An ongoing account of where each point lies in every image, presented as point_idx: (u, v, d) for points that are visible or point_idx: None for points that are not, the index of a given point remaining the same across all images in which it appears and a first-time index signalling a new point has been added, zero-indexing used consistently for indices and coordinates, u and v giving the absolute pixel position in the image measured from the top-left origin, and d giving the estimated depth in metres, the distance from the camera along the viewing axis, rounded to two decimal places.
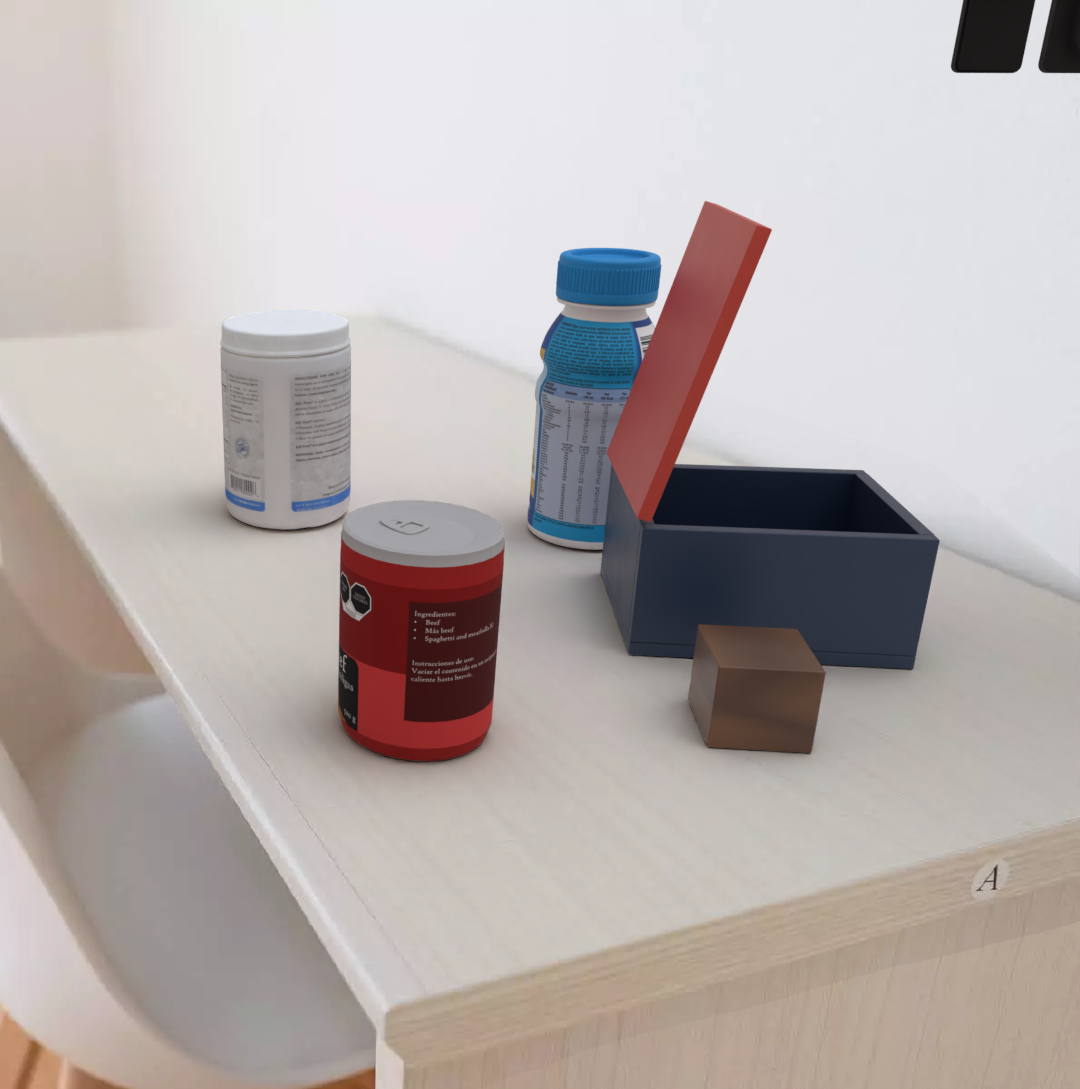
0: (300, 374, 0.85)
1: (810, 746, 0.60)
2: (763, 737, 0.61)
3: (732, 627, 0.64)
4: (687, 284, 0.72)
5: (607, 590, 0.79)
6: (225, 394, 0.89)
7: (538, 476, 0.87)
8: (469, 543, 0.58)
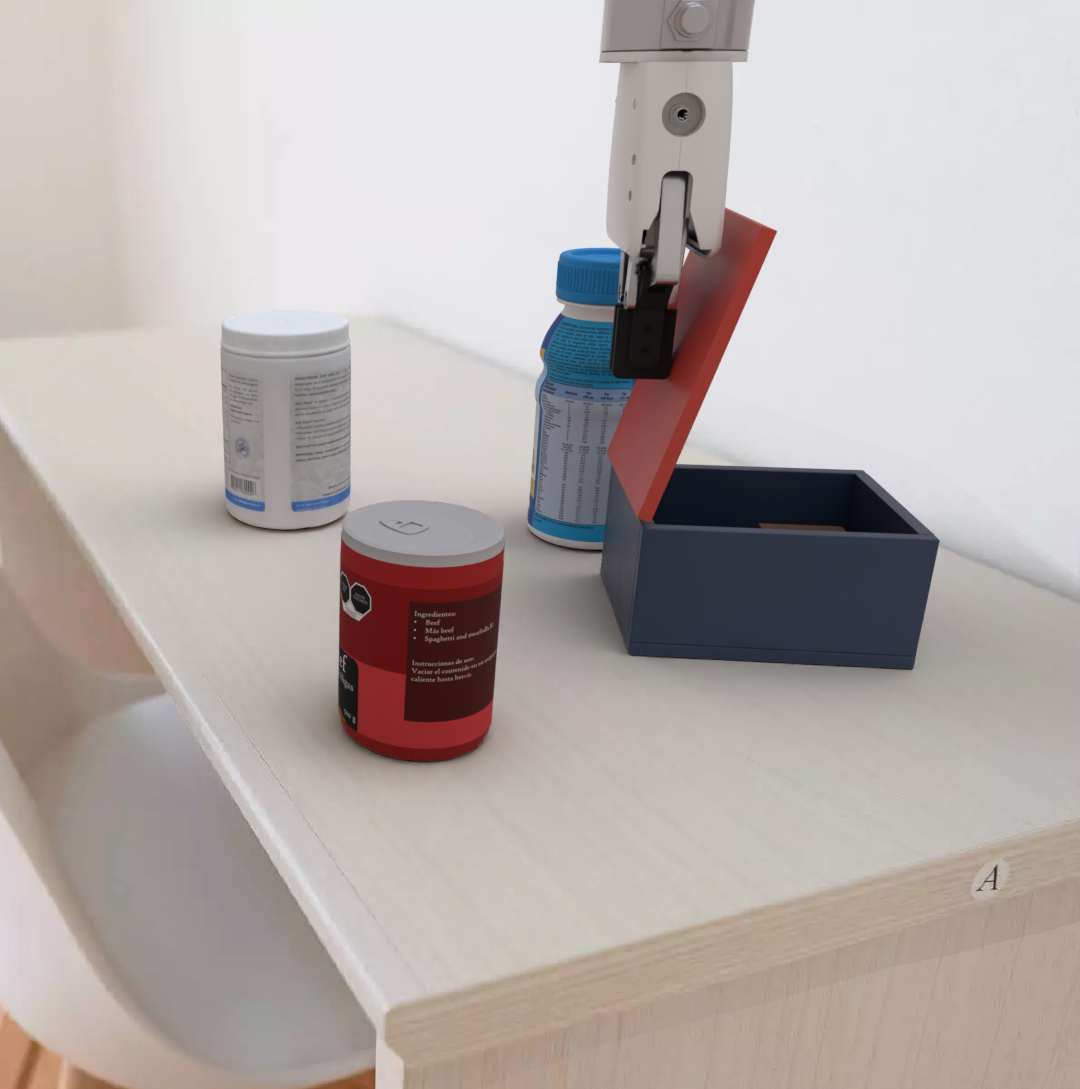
0: (300, 374, 0.85)
1: None
2: None
3: None
4: (690, 285, 0.72)
5: (607, 590, 0.79)
6: (225, 394, 0.89)
7: (538, 476, 0.87)
8: (469, 543, 0.58)
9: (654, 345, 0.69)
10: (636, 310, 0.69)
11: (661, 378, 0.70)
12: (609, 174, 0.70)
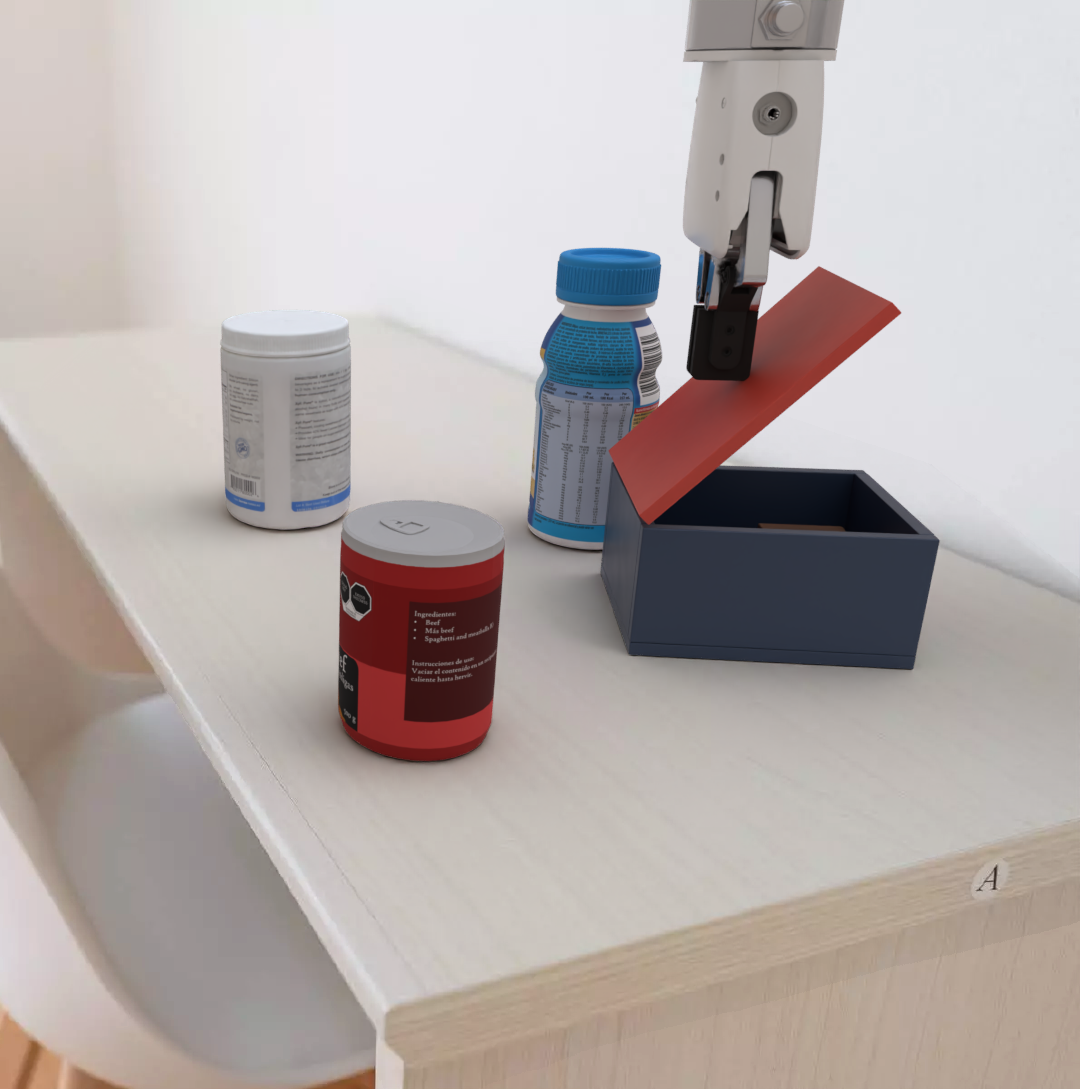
0: (300, 374, 0.85)
1: None
2: None
3: None
4: (772, 331, 0.72)
5: (607, 590, 0.79)
6: (225, 394, 0.89)
7: (538, 476, 0.87)
8: (469, 543, 0.58)
9: (735, 346, 0.69)
10: (718, 311, 0.68)
11: (741, 379, 0.70)
12: (689, 174, 0.69)
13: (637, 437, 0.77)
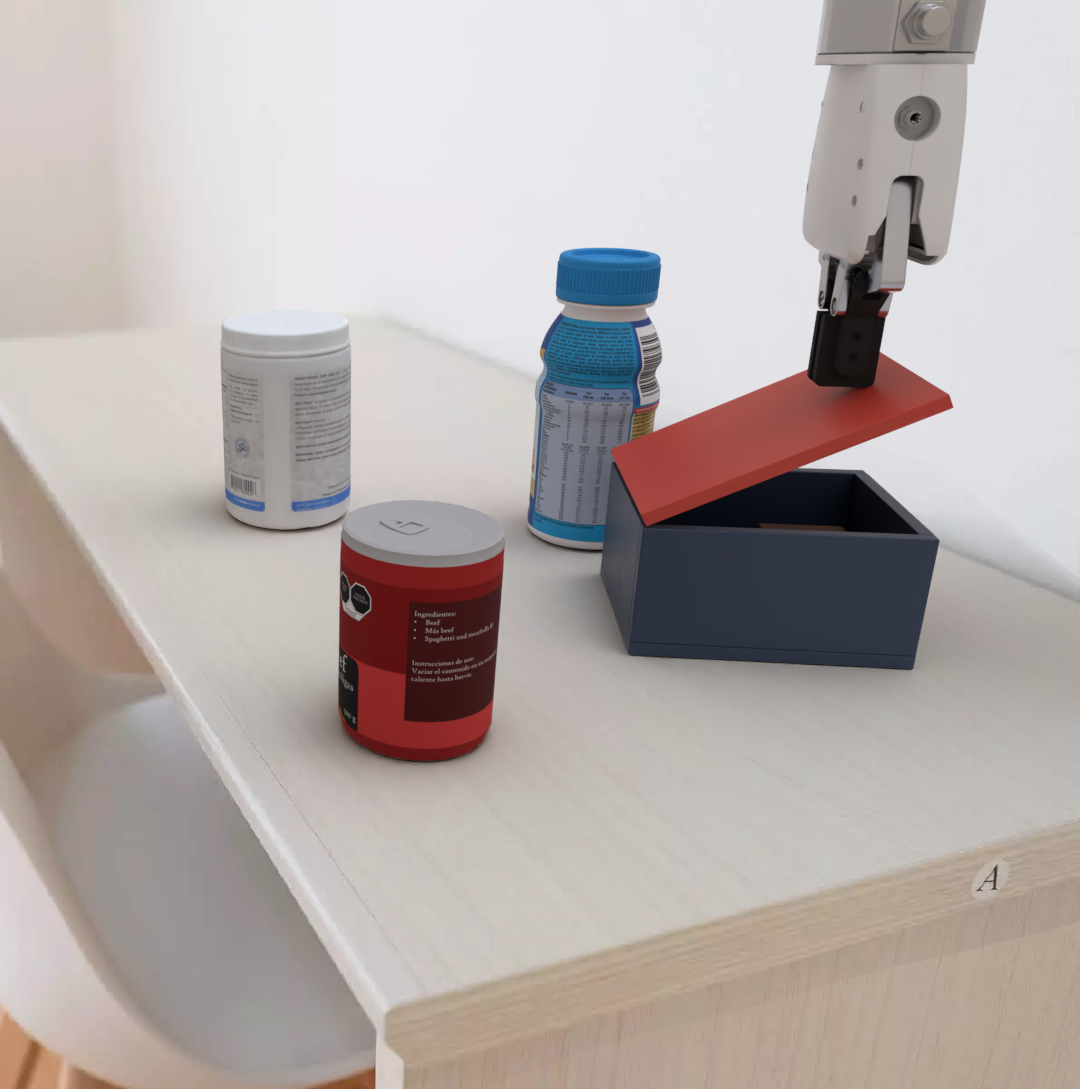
0: (300, 374, 0.85)
1: None
2: None
3: None
4: (810, 388, 0.73)
5: (607, 590, 0.79)
6: (225, 394, 0.89)
7: (538, 476, 0.87)
8: (469, 543, 0.58)
9: (862, 352, 0.68)
10: (845, 317, 0.67)
11: (865, 386, 0.69)
12: (813, 178, 0.69)
13: (645, 445, 0.77)
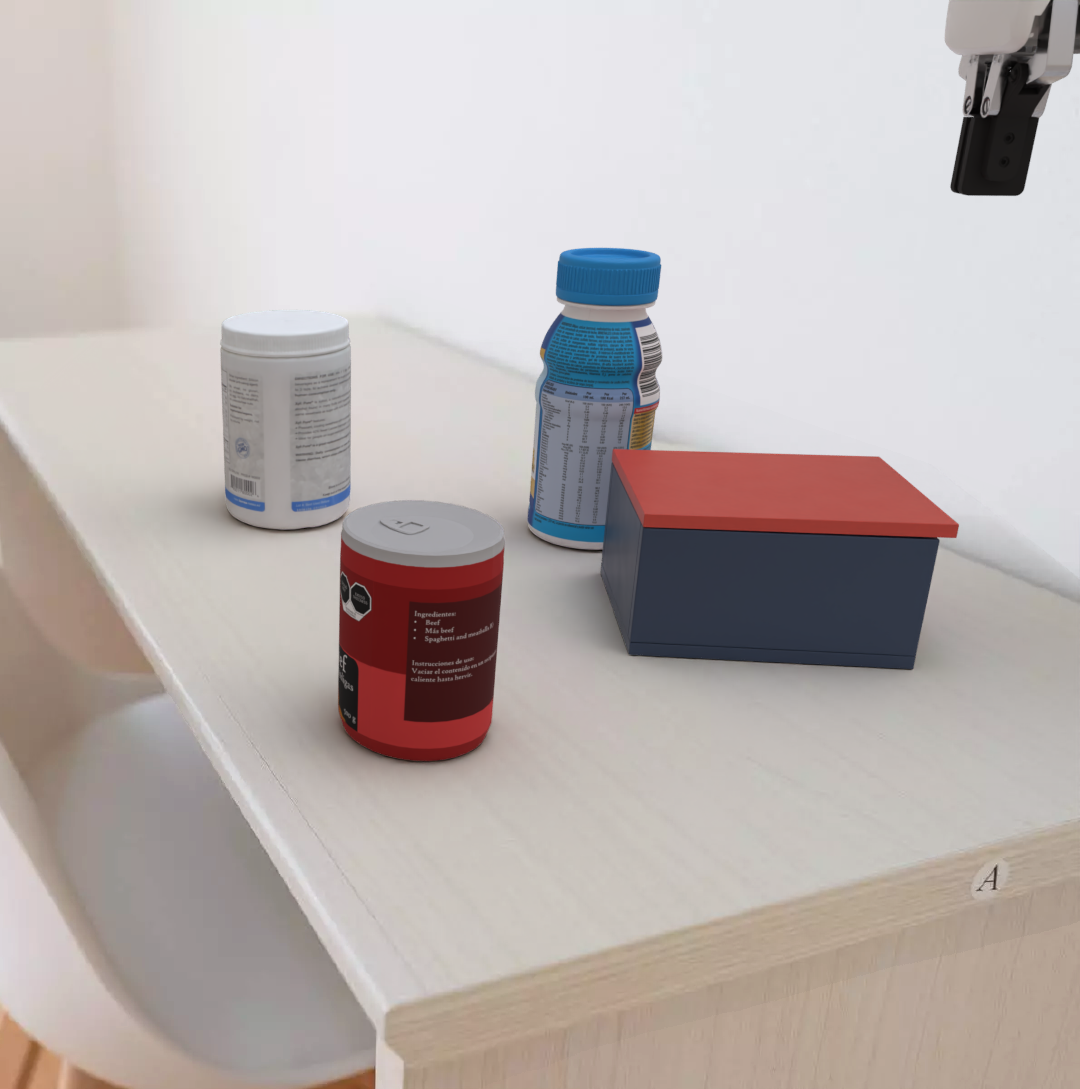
0: (300, 374, 0.85)
1: None
2: None
3: None
4: (821, 471, 0.75)
5: (607, 590, 0.79)
6: (225, 394, 0.89)
7: (538, 476, 0.87)
8: (469, 543, 0.58)
9: (1013, 156, 0.65)
10: (998, 117, 0.65)
11: (1014, 194, 0.67)
12: None
13: (650, 458, 0.77)
